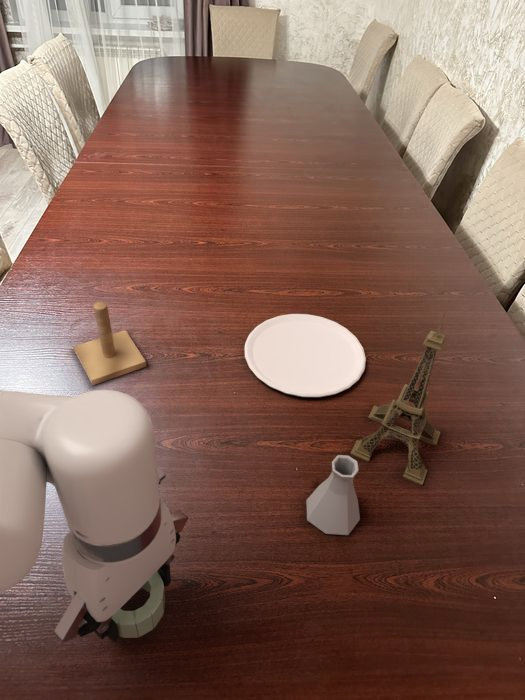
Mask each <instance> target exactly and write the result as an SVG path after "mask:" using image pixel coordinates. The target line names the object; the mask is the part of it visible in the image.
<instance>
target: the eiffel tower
mask: <svg viewBox="0 0 525 700" xmlns="http://www.w3.org/2000/svg"><path fill="white" fill-rule="evenodd" d="M446 313H447V310H445V311H444V313H443V317H442V319H441V321H440V323H439V326H438V328H437V330H436V331H434V330H430V331H429V333H428V334H427V335H426V337H425V339H424V342H423V343H422V345H423V346H426V348H425V350H424V352H423V354H422V356H421V358H420V360H419V361H418V364H417V366H416V368H415V370H414V372H413V375H412V376H411V379H410V381H409V383H408V384H407V383H405V384H404V386H402V389H401V392H400V394H399V396H398V398H397V399H396V400H395V399H394V398H393V399H392V401H391V402H390V404H382V405H379V406H377V405H375V404H374V405H373V407H372V408H371V410H370V413H369V414H368V416H367V419H369V420H370V421H371V420H372V421H374V422H376V423H379V424H380V426H379V428H378V429H377V430H376V431H375V432H373V433H371V434H369V435H367V436H365V437H362V438H361V439H356V440H355V443H354V445H353V447H352V449H351V451H350V453H349V454H350V455H351V456H353V457H355V458H358V459H360V460H363V461H364V462H367V463H369V462H370V459H371V457H372V455H373V453H374V450H375V448H376V447H377V446H378V444H380V442H381V441H382V440H383V439H384V438H390V439H396V440H398V441H400V442H401V443H403V444H404V445H405V446H406V447H408V451H407V452H408V453H407V465H406V468H405V470H404V472H403V475H402V478H403V479H405V480H408V481H409V482H412V483H414V484H416V485H419V486H421V487H422V486H423V484H424V482H425V479H426V476H427V473H428V469H427V468H426V467H425V464H424V461H423V458H422V456H421V454H420V451H419V440H420V441H422V442H425V443H427V444H428V445H429V444H430V445H432V446H434V447H436V446H437V444H438V441H439V438H440V436H441V431H439V430H436V427H435V426H434V425H433V423H431V421H430V420H429V418H428V417H429V415H430V413H429V412H426V408H425V407H426V405H427V402H428V400H429V397H430V392H429V391H427V389H428V385H429V383H430V379H431V374H432V371H433V367H434V363H435V359H436V356H437V352H438V351H440V352H441V351H442V349H443V347H444V344H445V342H446V340H445V337H446V335H445V334H442V333H440V331H441V328H442V325H443V322H444V319H445V316H446ZM419 380H420V381H419ZM418 382H419V384H418ZM417 384H418V388H416V387H417ZM409 402H410V403H412V404H413V406H410V405H408V403H409ZM398 419H404V420H405V421H409V423H410V430H409V429H405V428H403V427H401V426H399V425H396V424H394V423H395V422H396V421H397V420H398Z"/></svg>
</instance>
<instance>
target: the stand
mask: <svg viewBox="0 0 525 700" xmlns="http://www.w3.org/2000/svg"><path fill="white" fill-rule="evenodd" d="M92 308H93V312H94V317H95V322H96V326H97V332H98V338H95V339H92V340H90V341H86V342H82V343H80V344H77V345H74V346H73V349H74V352H75V354H76V357H77V359H78V360H79V362H80V364H81V367H82V368H83V370H84V372H85V374H86V376H87V377H88V379H89V381H90V383H91V385H92V386H95V385H99V384H101V383H104V382H107V381H110V380H112V379H114V378H118V377H120V376H124V375H127V374H129V373H132V372H134V371H138V370H140V369H143V368H146V367H147V361H146V359H145V357H144V356H143V354H142V353H141V352H140V350H139V349H138V347H137V345H136V344H135V342H134V341H133V339H132V338H131V336H130V335H129V333H128V331H127V330H126V329H124V330H121V331H118V332H117V331H116V332H115V333H113V331H112V325H111V319H110V314H109V307H108V304H107V303H106V302H105V301H97V302H95V303H94V304H93V307H92Z"/></svg>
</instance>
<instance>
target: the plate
mask: <svg viewBox="0 0 525 700" xmlns="http://www.w3.org/2000/svg"><path fill="white" fill-rule="evenodd" d="M244 359H245V361H246V363H247V366H248V369H249V370H250V371H251V372H252V373H253V374H254V376H255V377H256V378H257V379H258V380H259V381H261V382H262V383H263V384H265V385H266V386H268V387H269V388H271V389H273V390H275V391H279V392H281V393H283V394H285V395H291V396H295V397H300V398H324V397H329V396H335V395H337V394H340V393H342V392H344V391H346V390H349V389H350V388H352V387H353V385H355V384H356V383H357V382H358V381H359V380H360V378H361V377H362V375H363V374H364V372H365V369H366V361H367V356H366V353H365V349H364V347H363V346H362V343H360V340H359V339H358V338H357V336H356V335H354V333H352V332H351V331H350V330H349V329H348V328H346V327H344V326H343V325H341V324H339V323H338V322H337V321H334V320H332V319H328V318H325V317H322V316H319V315H314V314H308V313H290V314H282V315H277V316H275V317H272V318H269V319H266V320H264V321H263V322H261V323H260V324H258V325H257V326H255V327H254V329H252V330H251V332H250V333H249V334H248V336H247V338H246V340H245V344H244Z"/></svg>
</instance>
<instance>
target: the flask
mask: <svg viewBox="0 0 525 700" xmlns="http://www.w3.org/2000/svg"><path fill="white" fill-rule="evenodd" d="M358 472H359V464H358V461H357V460H356V459H354V458H353V457H352V456H350V455H343V454H337V455H336V457H335V458H333V460H332V461H331V473H330V474H329V476H328V477H327V478H326V479H325V480H324V481H323V482H321V483H320V484H318V486H317V487H316V488H315V489H314V491H312V493H311V494H310V495H309V496H308V497H307V499H306V503H305V504H306V521H307V522H309V523H310V524H312V525H313V526H314V527H316V528H317V529H318V530H320V531H322V533H324V534H325V535H339V536H349V535H350V533H352V531H353V530H354V528H355V527H356V525H357V524H358V523H359V521H360V520H361V518H360V517H361V516H360V515H361V513H360V506H359V499H358V495H357V492H356V489H355V486H354V478H355V476H356V475H357V474H358Z"/></svg>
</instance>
